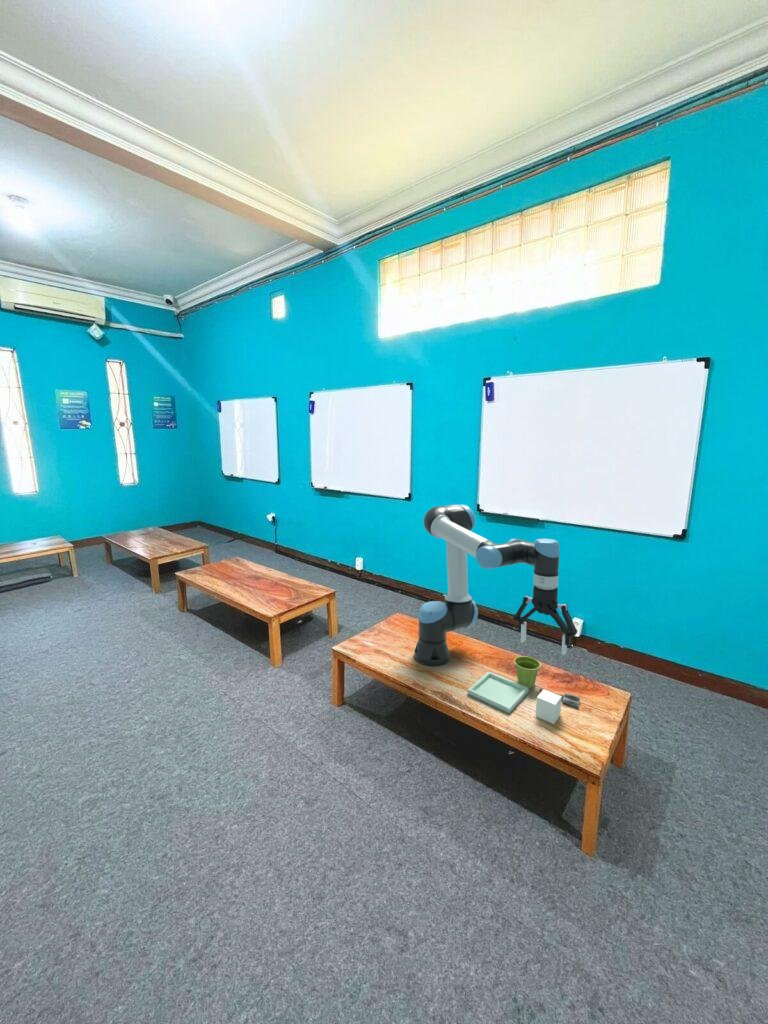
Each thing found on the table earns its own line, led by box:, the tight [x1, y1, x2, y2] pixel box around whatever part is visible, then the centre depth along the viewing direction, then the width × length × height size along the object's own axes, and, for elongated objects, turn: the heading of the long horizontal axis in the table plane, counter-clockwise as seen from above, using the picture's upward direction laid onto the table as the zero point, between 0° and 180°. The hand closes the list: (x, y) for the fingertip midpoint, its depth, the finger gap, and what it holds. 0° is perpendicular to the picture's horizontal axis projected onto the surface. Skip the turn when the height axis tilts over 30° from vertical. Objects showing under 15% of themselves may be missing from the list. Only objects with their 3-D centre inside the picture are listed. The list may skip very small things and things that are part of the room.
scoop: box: [538, 688, 580, 709], centre depth 143 cm, size 13×4×2 cm, turn 58°
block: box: [535, 688, 563, 725], centre depth 133 cm, size 6×6×7 cm
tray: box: [467, 671, 530, 715], centre depth 146 cm, size 16×16×2 cm
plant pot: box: [513, 655, 542, 689], centre depth 151 cm, size 9×9×9 cm
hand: (543, 647), depth 134 cm, fingers open, 13 cm apart
